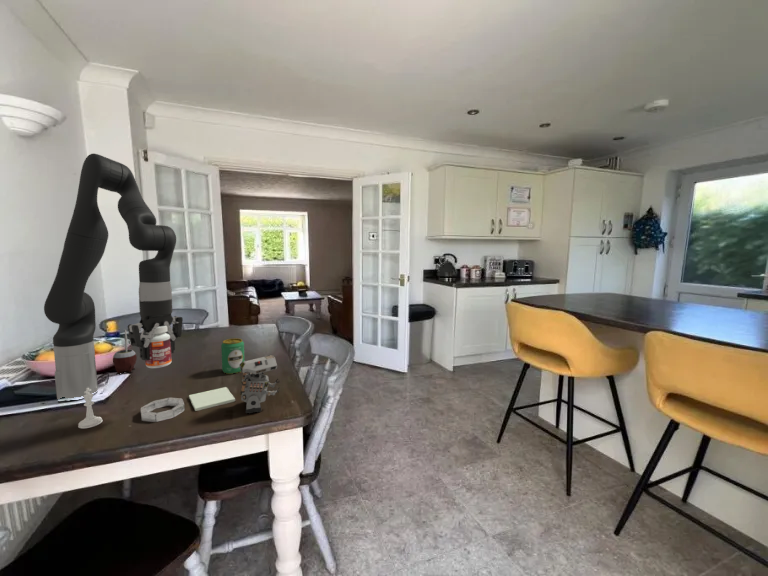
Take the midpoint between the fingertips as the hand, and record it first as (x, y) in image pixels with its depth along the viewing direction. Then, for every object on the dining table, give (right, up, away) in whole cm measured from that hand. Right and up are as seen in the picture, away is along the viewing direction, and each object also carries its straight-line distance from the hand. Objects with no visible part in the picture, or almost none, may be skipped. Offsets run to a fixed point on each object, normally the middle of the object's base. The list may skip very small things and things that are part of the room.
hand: (158, 356), depth 94 cm
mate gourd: (-34, -13, +32) cm, 49 cm away
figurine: (+26, -17, +8) cm, 32 cm away
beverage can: (+5, -13, +36) cm, 38 cm away
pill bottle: (0, -3, 0) cm, 3 cm away
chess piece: (-15, -17, -4) cm, 24 cm away
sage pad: (+9, -16, +11) cm, 22 cm away
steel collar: (0, -17, +2) cm, 17 cm away
